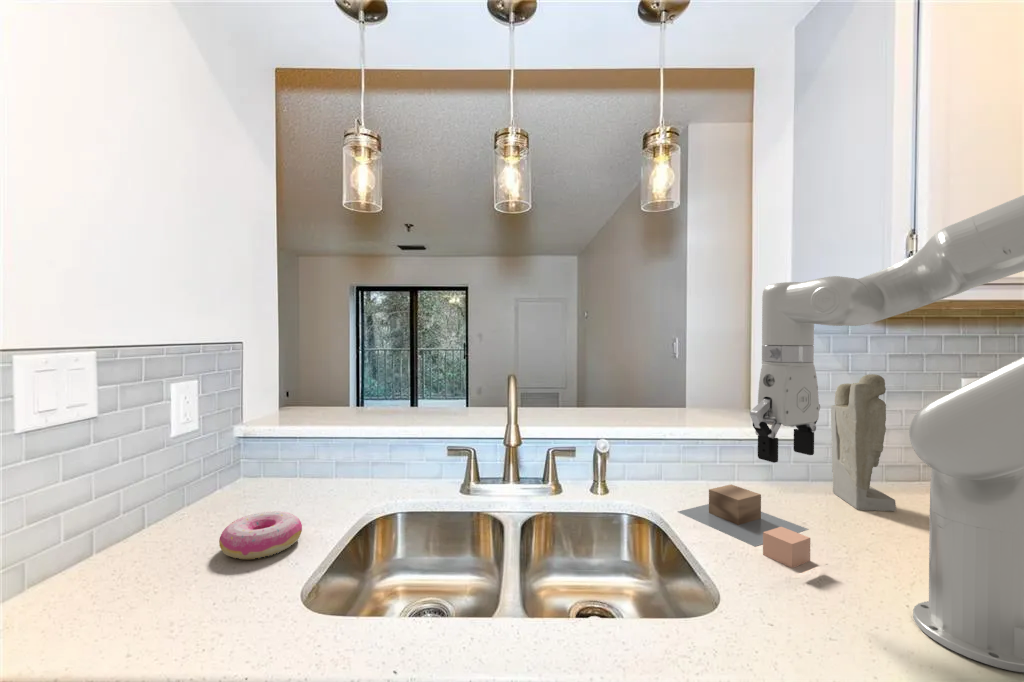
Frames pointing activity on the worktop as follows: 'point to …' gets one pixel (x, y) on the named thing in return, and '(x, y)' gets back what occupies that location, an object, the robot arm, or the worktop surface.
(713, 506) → the walnut base
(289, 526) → the donut
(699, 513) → the slate board
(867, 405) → the sculpture
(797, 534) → the terracotta cube
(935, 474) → the robot arm
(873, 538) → the worktop surface
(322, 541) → the worktop surface
